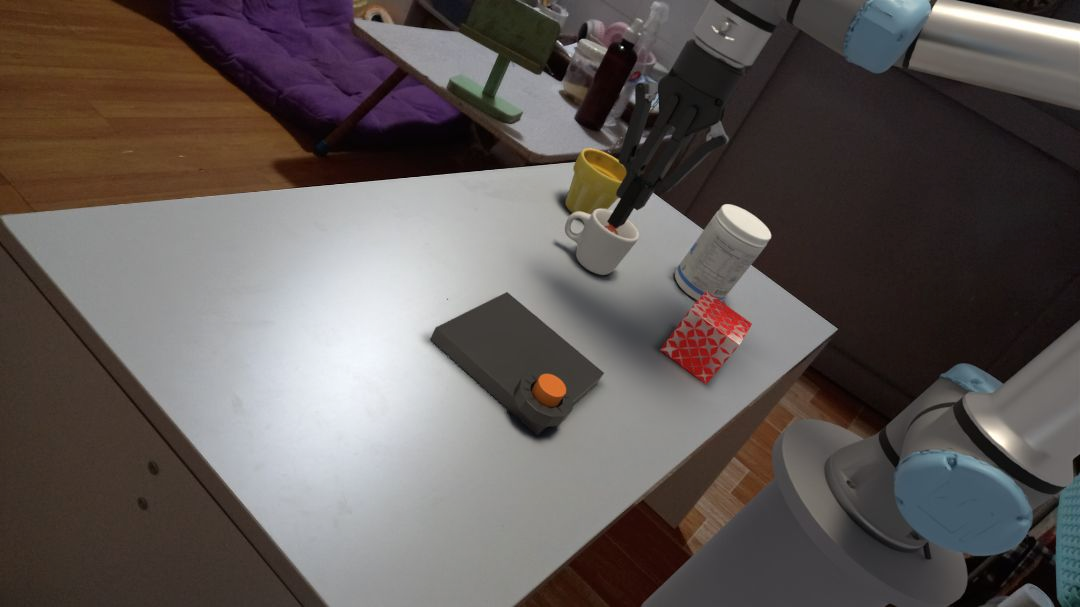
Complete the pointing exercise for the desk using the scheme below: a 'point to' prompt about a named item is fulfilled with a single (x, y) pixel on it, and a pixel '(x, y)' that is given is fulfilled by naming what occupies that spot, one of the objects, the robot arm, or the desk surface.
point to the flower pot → (594, 181)
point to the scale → (516, 358)
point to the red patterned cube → (706, 337)
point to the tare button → (549, 390)
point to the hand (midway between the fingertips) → (615, 222)
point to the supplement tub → (722, 253)
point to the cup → (601, 240)
